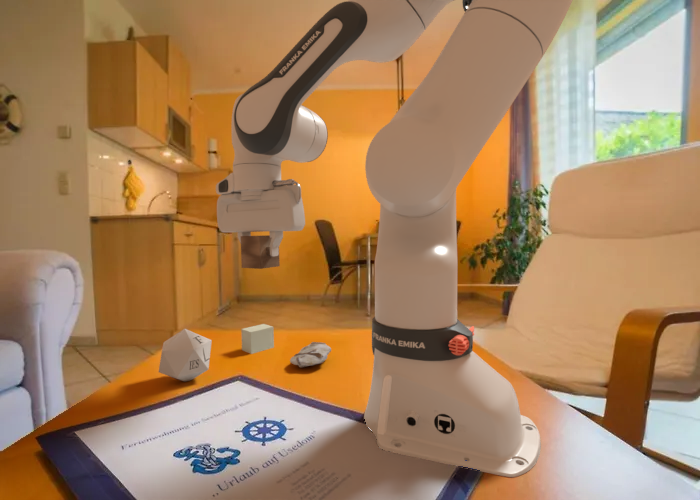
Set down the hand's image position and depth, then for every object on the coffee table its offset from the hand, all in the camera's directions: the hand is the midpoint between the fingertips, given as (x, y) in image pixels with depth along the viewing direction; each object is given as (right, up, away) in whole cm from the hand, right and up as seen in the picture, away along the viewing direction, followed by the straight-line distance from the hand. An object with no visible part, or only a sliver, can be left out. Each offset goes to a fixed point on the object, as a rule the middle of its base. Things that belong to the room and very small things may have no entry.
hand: (260, 255), depth 70 cm
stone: (+12, -22, +7) cm, 27 cm away
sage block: (-4, -22, +15) cm, 27 cm away
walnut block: (0, -2, 0) cm, 2 cm away
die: (-13, -23, -4) cm, 27 cm away
